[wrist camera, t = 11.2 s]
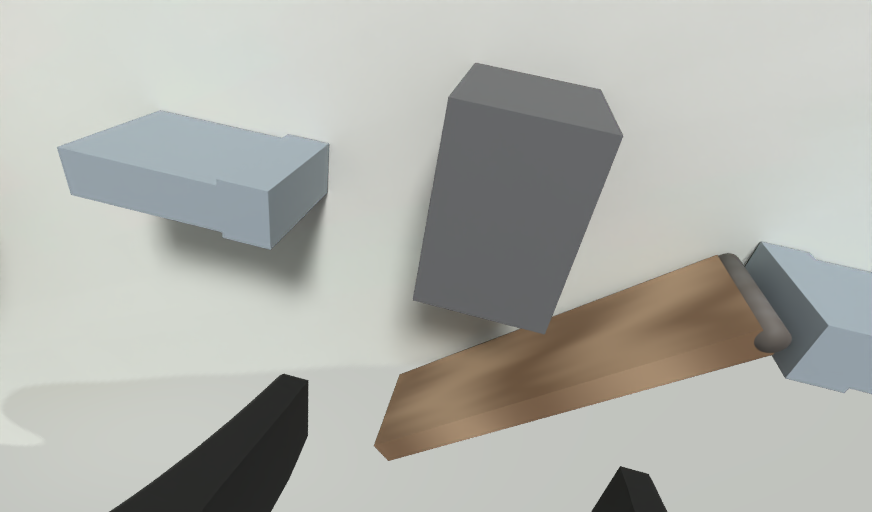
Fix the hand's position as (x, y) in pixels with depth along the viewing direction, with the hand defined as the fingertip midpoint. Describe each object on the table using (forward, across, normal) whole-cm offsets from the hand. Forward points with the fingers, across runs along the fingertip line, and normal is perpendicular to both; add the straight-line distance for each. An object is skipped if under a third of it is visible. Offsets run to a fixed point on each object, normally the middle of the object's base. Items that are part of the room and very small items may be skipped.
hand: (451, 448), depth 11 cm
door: (+9, -3, +3) cm, 10 cm away
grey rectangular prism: (+9, 0, -4) cm, 10 cm away
